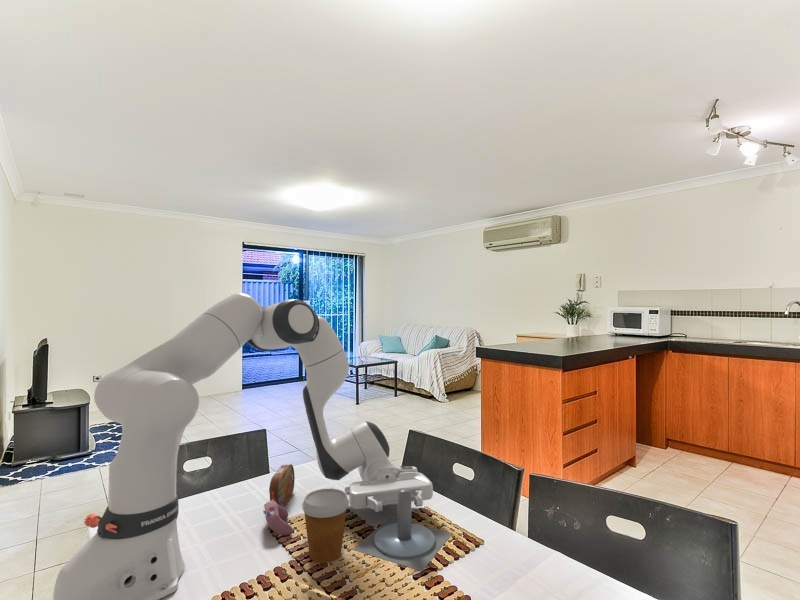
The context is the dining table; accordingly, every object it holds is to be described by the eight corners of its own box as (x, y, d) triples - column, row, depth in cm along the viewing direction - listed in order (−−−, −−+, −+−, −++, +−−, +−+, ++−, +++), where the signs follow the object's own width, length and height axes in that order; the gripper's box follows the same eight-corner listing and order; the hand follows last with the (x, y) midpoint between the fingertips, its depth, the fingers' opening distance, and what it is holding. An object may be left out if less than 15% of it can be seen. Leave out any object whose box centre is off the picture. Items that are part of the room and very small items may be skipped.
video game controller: (272, 525, 105) (258, 501, 104) (289, 514, 106) (276, 490, 105) (275, 546, 95) (260, 519, 94) (294, 533, 97) (280, 507, 96)
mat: (422, 573, 83) (422, 571, 83) (352, 551, 90) (352, 549, 90) (452, 535, 97) (452, 533, 97) (390, 519, 104) (390, 517, 104)
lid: (418, 564, 85) (418, 509, 85) (362, 547, 91) (362, 495, 91) (443, 534, 96) (443, 485, 96) (392, 521, 102) (392, 475, 103)
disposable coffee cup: (305, 574, 82) (305, 510, 83) (298, 549, 91) (298, 491, 92) (354, 564, 86) (354, 502, 86) (342, 540, 95) (342, 485, 95)
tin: (279, 515, 107) (279, 480, 107) (266, 515, 107) (267, 480, 107) (295, 490, 122) (295, 459, 122) (284, 490, 122) (284, 459, 122)
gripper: (343, 474, 107) (353, 497, 94) (421, 465, 113) (441, 486, 100) (343, 500, 107) (353, 526, 94) (421, 490, 113) (441, 513, 100)
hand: (399, 505), depth 97 cm, fingers open, 8 cm apart
